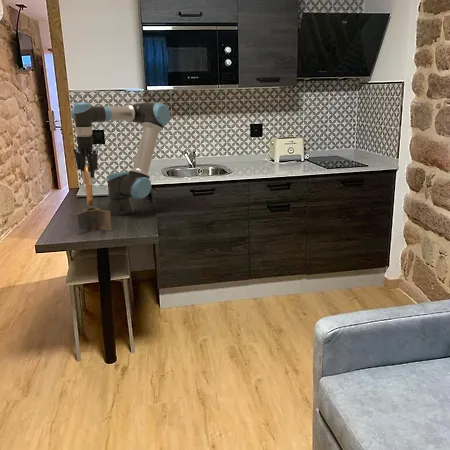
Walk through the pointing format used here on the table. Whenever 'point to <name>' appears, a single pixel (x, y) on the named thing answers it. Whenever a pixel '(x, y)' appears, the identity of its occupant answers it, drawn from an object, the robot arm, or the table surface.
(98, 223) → the hinge
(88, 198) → the hinge pin
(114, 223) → the table surface
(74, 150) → the robot arm
